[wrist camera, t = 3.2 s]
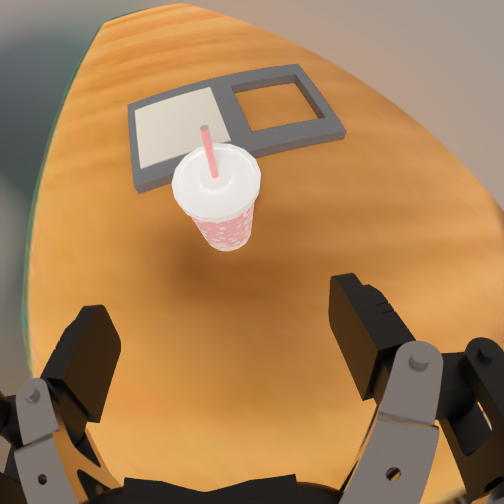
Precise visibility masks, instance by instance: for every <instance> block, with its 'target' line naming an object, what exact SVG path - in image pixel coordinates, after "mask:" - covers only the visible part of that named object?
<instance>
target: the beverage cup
mask: <svg viewBox="0 0 504 504" xmlns="http://www.w3.org/2000/svg"><path fill="white" fill-rule="evenodd" d="M200 131H201V135H202V139H203V143H204V146H203V147H199V148H197V149H195V150H194V151H192V152H191V153H189V154H188V155H186V156H185V157H184V158H183V159H182V161H181V162H180V163H179V165H178V166H177V167H176V169H175V172H174V176H173V180H172V188H173V193H174V198H175V200H176V201H177V202H178V204H179V205H180V206H181V208H182V209H183V210H184V211H185V213H186V214H187V215H189V216H191V218H192V219H193V221H194V222H195V224H196V225H197V227H198V228H199V230H200V231H201V233H202V234H203V236H204V237H205V239H206V240H207V241H208V243H209V244H210V245H211V246H212V247H214V248H216V249H218V250H220V251H232V250H235V249H239V248H240V247H241V246H242V245H244V244H245V243H246V242H247V240H248V238H249V237H250V235H251V227H252V218H253V210H254V201H255V199H256V198H257V196H258V194H259V189H260V178H261V172H260V169H259V167H258V164H257V162H256V159H255V158H253V157H252V156H251V155H250V154H249V153H248V152H247V151H246V150H245V149H242V148H240V147H237V146H235V145H232V144H220V143H213V144H212V141H211V136H210V131H209V126H208V125H202V126H201V127H200Z"/></svg>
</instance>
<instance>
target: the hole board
mask: <svg viewBox="0 0 504 504" xmlns="http://www.w3.org/2000/svg"><path fill="white" fill-rule="evenodd" d="M294 82H295V84H296V85H297V87H298V88H299V89H300V91H301V92H302V94H303V95H304V97H305V98H306V100H307V101H308V103H309V104H310V106H311V107H312V109H313V110H314V112H315V113H316V115H317V116H318V118H319V119H315V120H309V121H303V122H298V123H292V124H287V125H282V126H277V127H273V128H268V129H264V130H259V131H255V132H252V131H251V129H250V127H249V125H248V123H247V120H246V118H245V116H244V114H243V112H242V109H241V107H240V105H239V103H238V101H237V99H236V97H235V95H234V93H237V92H242V91H247V90H252V89H257V88H262V87H268V86H274V85H280V84H287V83H294ZM128 122H129V138H130V150H131V161H132V171H133V180H134V187H135V189H136V190H137V191H138V193H139V194H140V193H143V192H146V191H149V190H152V189H154V188H157V187H160V186H163V185H166V184H169V183H172V180H173V176H174V172H175V169H176V167H177V166H178V165H179V163H180V162H181V161H182V159H183V158H184V157H185V156H186V155H188V154H189V153H191V152H192V151H194V150H195V149H197V148H199V147H203V146H204V143H203V139H202V135H201V131H200V127H201V126H202V125H208V126H209V131H210V136H211V141H212V144H213V143H220V144H232V145H235V146H237V147H240V148H242V149H245V150H246V151H247V152H248V153H249V154H250V155H251V156H252V157H253V158H258V157H262V156H266V155H270V154H274V153H278V152H283V151H287V150H292V149H296V148H301V147H305V146H310V145H315V144H320V143H325V142H330V141H335V140H341V139H344V137H345V134H346V129H345V128H344V126H343V125H342V123H341V122H340V120H339V119H338V117H337V116H336V114H335V113H334V111H333V110H332V108H331V107H330V105H329V104H328V103H327V101H326V100H325V98H324V97H323V96H322V94H321V93H320V92H319V90H318V89H317V87H316V86H315V85H314V83H313V82H312V81H311V79H310V78H309V77H308V76H307V74H306V73H305V72H304V70H303V69H302V68H301V67H300V65H299V64H292V65H284V66H276V67H269V68H263V69H257V70H251V71H246V72H240V73H235V74H230V75H226V76H221V77H217V78H213V79H209V80H205V81H201V82H197V83H193V84H190V85H186V86H182V87H179V88H176V89H172V90H169V91H166V92H163V93H160V94H157V95H154V96H151V97H148V98H145V99H142V100H140V101H137V102H134V103H132V104H129V105H128Z"/></svg>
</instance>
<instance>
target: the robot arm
mask: <svg viewBox="0 0 504 504" xmlns="http://www.w3.org/2000/svg"><path fill="white" fill-rule="evenodd" d="M328 314H329V322H330V326H331V329H332V331H333V334H334V336H335V338H336V340H337V343H338V345H339V347H340V349H341V352H342V354H343V356H344V358H345V361H346V363H347V365H348V368H349V370H350V372H351V375H352V377H353V379H354V382H355V384H356V386H357V389H358V391H359V394H360V396H361V398H362V401H364V400H368V399H371V398H374V400H375V402H376V404H377V406H376V408H375V411H374V414H373V416H372V419H371V421H370V424H369V427H368V429H367V432H366V434H365V436H364V439H363V441H362V443H361V446H360V448H359V450H358V453H357V455H356V457H355V459H354V461H353V463H352V465H351V467H350V469H349V471H348V473H347V475H346V477H345V478H344V480H343V482H342V484H341V486H340V488H339V490H337V489H335V488H332V487H329V486H326V485H321V484H317V483H309V482H297V481H296V476H295V474H292V475H286V476H279V477H272V478H264V479H255V480H249V481H246V482H242V483H239V484H236V485H232V486H229V487H225V488H221V489H217V490H213V491H209V492H201V491H196V490H192V489H188V488H184V487H180V486H177V485H173V484H170V483H166V482H163V481H153V480H143V479H134V478H126V477H125V479H124V486H121V485H120V483H119V482H118V481H117V480H116V479H115V478H114V477H113V476H112V475H111V473H110V472H109V470H108V469H107V467H106V465H105V463H104V461H103V459H102V457H101V456H100V454H99V452H98V449H97V447H96V445H95V443H94V441H93V439H92V437H91V435H90V433H89V431H88V430H87V428H86V424H87V422H94V423H100V419H101V415H102V412H103V408H104V404H105V401H106V397H107V394H108V390H109V387H110V384H111V380H112V377H113V374H114V371H115V367H116V364H117V361H118V358H119V355H120V352H121V342H120V338H119V335H118V333H117V331H116V329H115V327H114V325H113V323H112V321H111V319H110V316H109V314H108V312H107V310H106V308H105V307H104V306H103V305H91V306H84V307H82V309H81V310H80V312H79V314H78V316H77V317H76V319H75V320H74V321H73V322H72V323H71V324H70V325H69V326H68V327H67V328H66V329H65V330H64V332H63V334H62V336H61V338H60V341H58V343H57V345H56V347H55V348H56V349H54V351H53V353H52V354H51V356H50V358H49V360H48V362H47V364H46V366H45V368H44V370H43V372H42V374H41V377H40V378H33V379H30V380H28V381H26V382H25V383H24V384H23V385H22V386H21V387H20V388H19V390H18V392H17V394H16V395H12V396H6V397H5V396H4V395H3V394H2V392H1V391H0V435H1V436H2V437H3V438H5V439H6V440H7V441H8V442H9V443H10V444H11V448H10V451H9V455H8V459H7V463H6V467H5V471H4V474H3V473H1V472H0V504H419V503H420V501H421V498H422V495H423V492H424V489H425V486H426V483H427V480H428V477H429V473H430V470H431V467H432V463H433V459H434V455H435V451H436V447H437V443H438V438H439V427H438V426H435V424H434V423H435V420H438V421H439V423H440V425H441V427H442V430H443V432H444V434H445V437H446V439H447V441H448V444H449V446H450V449H451V451H452V453H453V456H454V458H455V461H456V464H457V466H458V469H459V471H460V474H461V477H462V480H463V482H464V485H465V488H466V491H467V494H468V497H469V500H470V503H471V504H504V352H503V350H502V349H501V348H500V346H499V345H498V344H497V343H495V342H494V341H492V340H490V339H488V338H482V337H480V338H475V339H473V340H471V341H470V342H469V343H468V345H467V347H466V349H465V351H464V352H457V353H440V352H439V350H438V349H437V348H435V347H434V346H433V345H431V344H429V343H427V342H423V341H416V339H415V338H414V337H413V335H412V334H411V332H410V331H409V329H408V328H407V327H406V325H405V324H404V322H403V321H402V320H401V318H400V317H399V316H398V314H397V313H396V311H395V312H394V309H393V307H392V306H391V305H390V303H389V304H388V301H387V299H386V298H385V297H384V295H383V294H382V293H381V292H380V291H379V290H377V289H376V288H374V287H372V286H371V285H369V284H368V285H362V283H361V282H360V281H359V279H358V278H357V277H356V275H355V274H354V273H347V274H341V275H335V276H332V277H331V279H330V294H329V312H328ZM478 401H479V403H480V405H481V406H482V408H483V410H484V412H485V414H486V416H487V418H488V420H489V422H490V424H491V428H492V431H491V429H490V427H489V425H488V423H487V421H486V419H485V417H484V415H483V413H482V411H481V409H480V407H479V405H478V404H477V403H478Z"/></svg>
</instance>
